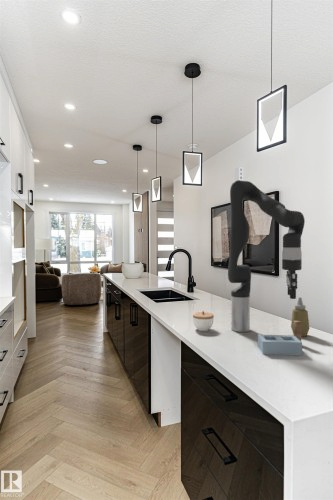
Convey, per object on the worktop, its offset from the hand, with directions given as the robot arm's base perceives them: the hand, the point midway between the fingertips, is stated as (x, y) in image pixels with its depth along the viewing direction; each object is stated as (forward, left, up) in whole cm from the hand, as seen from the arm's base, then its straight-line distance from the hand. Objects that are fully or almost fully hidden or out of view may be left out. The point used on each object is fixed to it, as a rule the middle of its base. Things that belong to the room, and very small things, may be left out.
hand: (291, 296), depth 121 cm
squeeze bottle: (-18, +10, -22) cm, 30 cm away
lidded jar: (-24, -36, -22) cm, 49 cm away
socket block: (+4, -6, -21) cm, 23 cm away
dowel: (-4, +4, -21) cm, 22 cm away
